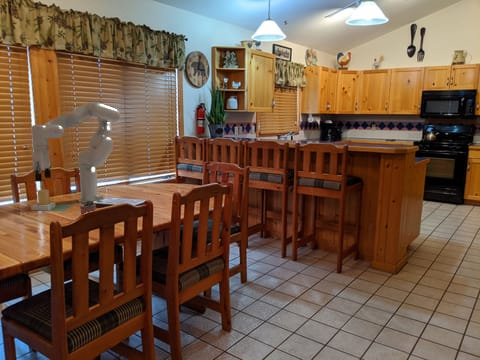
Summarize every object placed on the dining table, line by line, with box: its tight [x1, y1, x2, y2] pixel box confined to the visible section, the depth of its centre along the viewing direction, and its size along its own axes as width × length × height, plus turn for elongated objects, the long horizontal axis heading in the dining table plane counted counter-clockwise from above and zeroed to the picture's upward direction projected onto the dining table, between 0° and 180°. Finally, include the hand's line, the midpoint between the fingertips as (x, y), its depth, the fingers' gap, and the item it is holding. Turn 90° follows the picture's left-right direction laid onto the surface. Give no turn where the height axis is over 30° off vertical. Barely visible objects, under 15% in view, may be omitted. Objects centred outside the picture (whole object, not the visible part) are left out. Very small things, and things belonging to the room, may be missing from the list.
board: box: [30, 201, 75, 212], centre depth 209 cm, size 18×14×4 cm
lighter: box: [79, 200, 97, 215], centre depth 190 cm, size 8×3×10 cm, turn 141°
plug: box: [37, 189, 51, 205], centre depth 206 cm, size 5×4×10 cm
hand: (43, 179), depth 205 cm, fingers open, 9 cm apart
